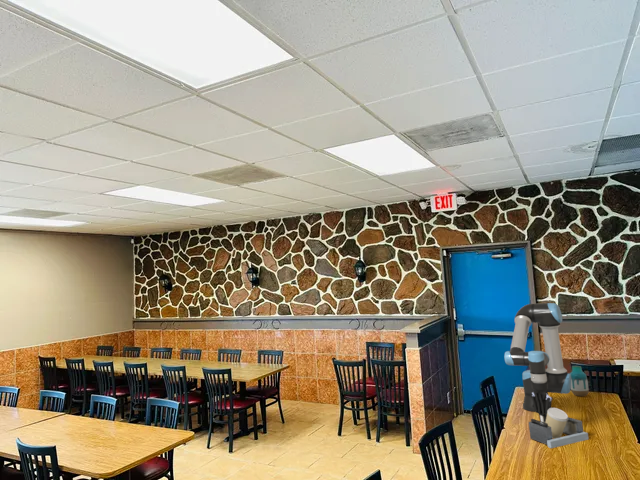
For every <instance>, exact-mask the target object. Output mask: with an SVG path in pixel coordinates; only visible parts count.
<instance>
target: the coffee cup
mask: <svg viewBox="0 0 640 480" xmlns="http://www.w3.org/2000/svg"><path fill="white" fill-rule="evenodd" d="M568 417H569V416H568V414H567V412H565V411H564V410H562V409H560V408H557V407H551V408H549V409H548V410H547V417H546V422H545V423H547V424H548V426H550V427H551V429H552V437H553V439H555V438H560V437H562V436H563V430H564V428H565V425H566V423H567V420H568Z"/></svg>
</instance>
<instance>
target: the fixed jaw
mask: <svg viewBox="0 0 640 480" xmlns="http://www.w3.org/2000/svg"><path fill="white" fill-rule="evenodd" d="M581 432H584V427H583V421H582V420H579V419H577V418H573V417H569V416H568V420H567V423H566V425H565V428H564V430H563V433H562V435H563V434H564V435H565V436H568V435H573V434H577V433H581Z"/></svg>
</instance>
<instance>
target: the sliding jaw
mask: <svg viewBox="0 0 640 480" xmlns="http://www.w3.org/2000/svg"><path fill="white" fill-rule="evenodd" d="M528 428H529V437H530V439H532V440H534V441H537V442H539V443H541V444H544V445H547V440H551V439H554V438H553V437H552V429H551V427H550V426H548V424H547V423H544V422H541V421H540V420H538V419H535V418H531V419H530V421H528Z"/></svg>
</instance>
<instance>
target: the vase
mask: <svg viewBox="0 0 640 480" xmlns="http://www.w3.org/2000/svg"><path fill="white" fill-rule="evenodd" d="M571 370H572V371H571V372H569V374H571V389H570V392H571V393H572V394H573V395H574V396H577V397H585V396H587V395H588V394H589V393H590V391H589V390H590V389H589V381H588V377H587V376H588V375H587V374H586V373H585V372H584V371H583V370H582V366H581V365H572V366H571Z"/></svg>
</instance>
